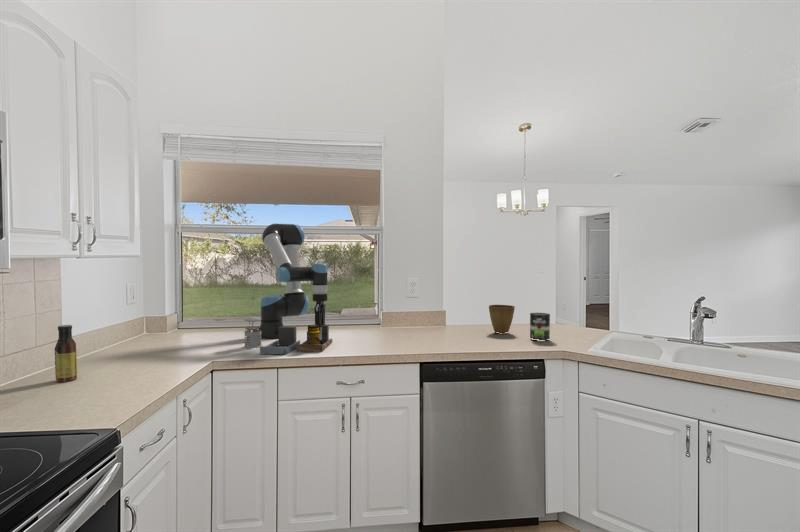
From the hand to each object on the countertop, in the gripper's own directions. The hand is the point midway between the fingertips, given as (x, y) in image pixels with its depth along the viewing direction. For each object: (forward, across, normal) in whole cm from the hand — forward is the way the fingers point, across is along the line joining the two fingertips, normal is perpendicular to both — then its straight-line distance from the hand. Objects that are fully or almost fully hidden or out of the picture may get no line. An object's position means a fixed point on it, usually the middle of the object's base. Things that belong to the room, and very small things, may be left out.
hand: (320, 338), depth 222 cm
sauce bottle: (+3, -72, +74) cm, 104 cm away
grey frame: (+2, -16, +15) cm, 22 cm away
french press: (+3, -10, +31) cm, 33 cm away
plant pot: (+3, +39, -98) cm, 106 cm away
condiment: (+3, -16, 0) cm, 17 cm away
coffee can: (+3, +19, -115) cm, 117 cm away
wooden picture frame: (+2, -10, 0) cm, 10 cm away
